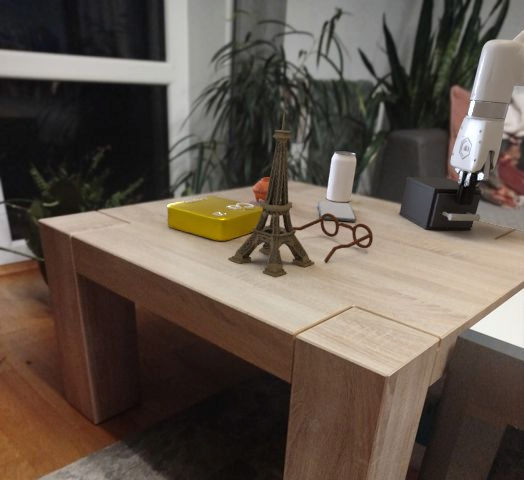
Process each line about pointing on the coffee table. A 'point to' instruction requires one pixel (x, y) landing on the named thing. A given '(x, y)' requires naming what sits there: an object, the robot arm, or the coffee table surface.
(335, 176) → the can
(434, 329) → the coffee table surface
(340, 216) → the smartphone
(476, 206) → the drawer
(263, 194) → the orange cupcake
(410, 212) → the cabinet
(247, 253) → the eiffel tower
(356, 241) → the glasses
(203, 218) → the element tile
